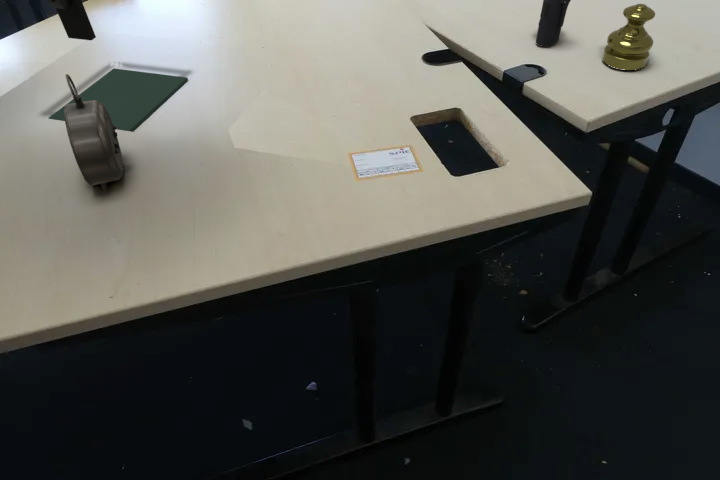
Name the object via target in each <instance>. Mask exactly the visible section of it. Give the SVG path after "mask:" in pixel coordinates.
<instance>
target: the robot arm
mask: <svg viewBox="0 0 720 480" xmlns="http://www.w3.org/2000/svg"><path fill="white" fill-rule="evenodd" d="M47 3H48V5H49V6H50V7H51V8H52V9H55V10H56V12H57V14H58V17H59V20H60V22H61V24H62V26H63V29H64V31H65V33H66V36H67V38H68V39H74V40H82V41H83V40H84V41H93V40H94V39H96V38H97V36H96V34H95V31H94V28H93V25H92V23H91V20H90V18H89V15H88V13H87V11H86V9H85V6H84V3H83V1H82V0H47Z"/></svg>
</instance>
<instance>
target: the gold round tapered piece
mask: <svg viewBox="0 0 720 480" xmlns="http://www.w3.org/2000/svg"><path fill="white" fill-rule="evenodd" d="M622 15H623V17H625V19H626V24H625V25H622V27H619V28H618V29H616V30H614V31H612V32H610V33H609V34H608V36H607V38H606V45H605V47H604V49H603V50H604V51H603V54H602V57H601V60H602V59H603V60H602V62H603V61H604V62H605V63H606V64H608V65H610V66H612V67H615V68H618V69H625V70H635V69H639V68H641V69H643V68H644V67H646V64H647V62H648V60H649V59H648V58H649V56H650V52H649V51H651V49H652V48H653V45H654V39H653V37H652V35H650V34H649V32H648V31H647V30H646V28H645V24H646V23H648V22H649V21H652V20H653V19H654V18H655V17H656V12H655V10H654V9H652V8H651V7H650V6H648V5H647V4H645V3H637V4H634V5H633V4H632V5H630V6H627V7H625V8H623V12H622ZM604 62H603V63H604ZM605 63H604V64H605ZM606 64H605V65H606ZM642 67H643V68H642ZM639 70H640V69H639ZM635 71H636V70H635Z"/></svg>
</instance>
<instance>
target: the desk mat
mask: <svg viewBox="0 0 720 480" xmlns="http://www.w3.org/2000/svg"><path fill="white" fill-rule="evenodd" d="M188 81H189V78H188V77H187V76H186V77H185V76H178V75H172V74H171V75H170V74H164V73H163V74H162V73H155V72H154V73H153V72H145V71H139V70H132V69H131V70H130V69H124V68H123V69H122V68H112V69H111V70H109V71H108V72H107V73H106V74H104V75H103V76H101V77H100V78H99V79H97V80H96V81H95V82H94V83H92V84H91V85H90V86H88V87H87V88H86V89H84V90H83V91H82V92H81V93H78V95H80V96H81V101H82V102H85V101H92V100H96V101H99V102H101V103H102V104H103V105H104V106H105V108H106V109H107V111H108V113H109V116H110V118H111V121H112V123H113V126H116V127H117V129H116V130H119V131H125V132H131V133H133V132H134V131H136V129H137V128H138V127H140V125H142V124H143V123H144V122H145V121H146V120H148V118H149V117H150V116H151V115H153V114H154V113H155V112H156V111H157V110H158V109H159V108H160V107H161V106H162V105H164V103H165V102H167V100H169V99H170V98H171V97H172V96H173V95H174V94H175V93H176V92H177V91H179V90H180V89H181V88H182V87H183V86H184V85H185V84H186V83H187V82H188ZM73 103H76V102H75V101H74V99H73V98H72V99H71V100H70V101H69V102H68V103H66V104H73ZM64 107H65V105H63V106H62V107H60V108H59V109H57V111H56V112H54V113H53V114H51V115H50V116H49V117H48V119H49V120H54V121H62V122H65V117H64Z"/></svg>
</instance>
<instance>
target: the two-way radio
mask: <svg viewBox="0 0 720 480" xmlns="http://www.w3.org/2000/svg"><path fill="white" fill-rule="evenodd" d="M571 1H572V0H543V1H542V6H541V12H540V16H539V22H538V26H537V33H536V39H535V44H536V43H537V44H539V45H542V46H541V47H543V46H546V47H551V46H553V45H556V43H558V42H559V39H560V36H561V35H560V34H561V31H562V27H564V23H565V18H566V15H567V11H568V7H569V4H570V2H571ZM557 41H558V42H557ZM537 44H536V45H537ZM539 45H538V46H539ZM550 45H551V46H550Z"/></svg>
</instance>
